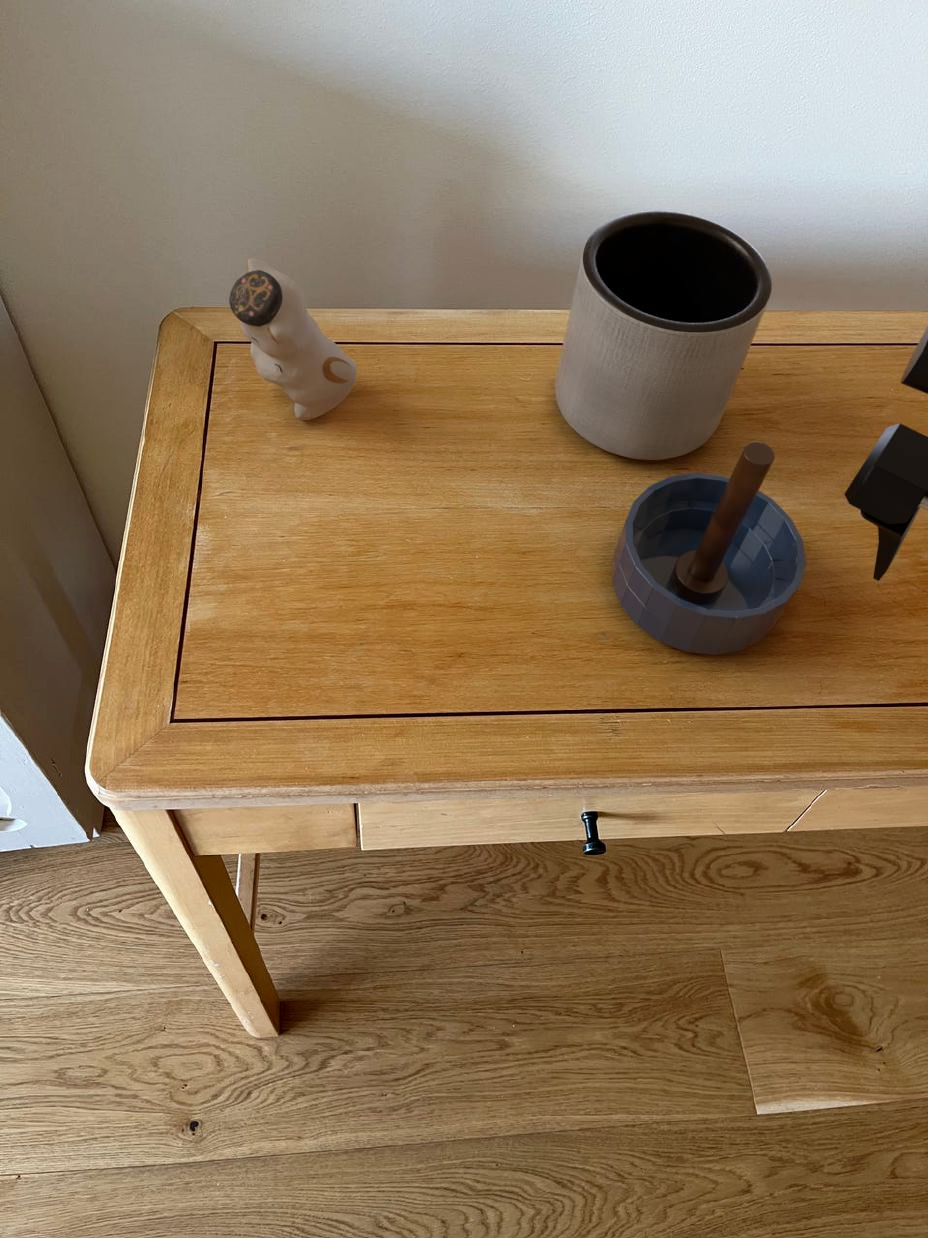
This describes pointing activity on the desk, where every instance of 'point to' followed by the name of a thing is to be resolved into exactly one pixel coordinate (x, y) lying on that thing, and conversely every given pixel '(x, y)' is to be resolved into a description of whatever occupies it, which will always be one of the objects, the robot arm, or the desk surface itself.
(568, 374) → the planter
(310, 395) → the figurine
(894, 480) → the robot arm
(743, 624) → the bowl
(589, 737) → the desk surface
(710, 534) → the stirring stick
